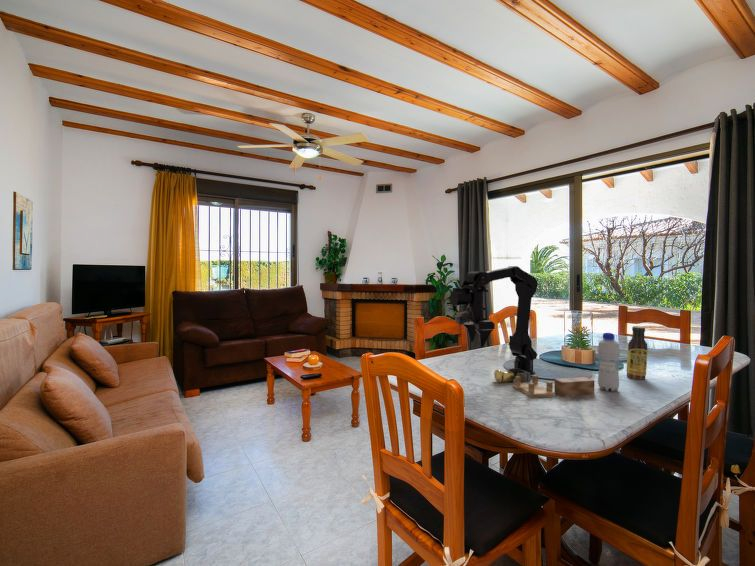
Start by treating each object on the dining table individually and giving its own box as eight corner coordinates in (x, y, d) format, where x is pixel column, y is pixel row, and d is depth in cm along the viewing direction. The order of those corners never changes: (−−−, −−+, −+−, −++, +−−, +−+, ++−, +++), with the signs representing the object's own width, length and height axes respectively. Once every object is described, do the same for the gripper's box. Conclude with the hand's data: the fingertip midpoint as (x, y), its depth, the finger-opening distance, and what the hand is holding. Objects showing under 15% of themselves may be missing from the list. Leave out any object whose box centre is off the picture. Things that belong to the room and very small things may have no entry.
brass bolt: (508, 379, 142) (508, 367, 142) (515, 382, 137) (515, 370, 137) (494, 380, 141) (494, 368, 141) (500, 383, 136) (500, 371, 136)
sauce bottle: (628, 379, 140) (629, 327, 139) (624, 375, 146) (625, 325, 145) (649, 381, 138) (650, 328, 137) (644, 376, 143) (645, 326, 143)
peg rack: (513, 386, 133) (513, 375, 133) (533, 385, 135) (533, 373, 134) (533, 397, 121) (533, 385, 121) (554, 396, 123) (555, 383, 123)
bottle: (595, 389, 129) (595, 333, 128) (599, 385, 134) (600, 330, 133) (617, 393, 124) (618, 335, 124) (621, 389, 129) (622, 332, 128)
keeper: (518, 377, 144) (518, 367, 144) (530, 383, 137) (530, 373, 137) (507, 378, 143) (507, 368, 143) (518, 384, 136) (518, 374, 136)
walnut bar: (585, 391, 128) (586, 377, 128) (594, 395, 124) (594, 380, 124) (554, 393, 126) (554, 378, 126) (562, 397, 122) (562, 382, 122)
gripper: (447, 303, 149) (448, 341, 150) (466, 307, 131) (466, 351, 132) (473, 301, 151) (474, 339, 152) (495, 306, 133) (495, 349, 133)
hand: (476, 344), depth 142 cm, fingers open, 9 cm apart
